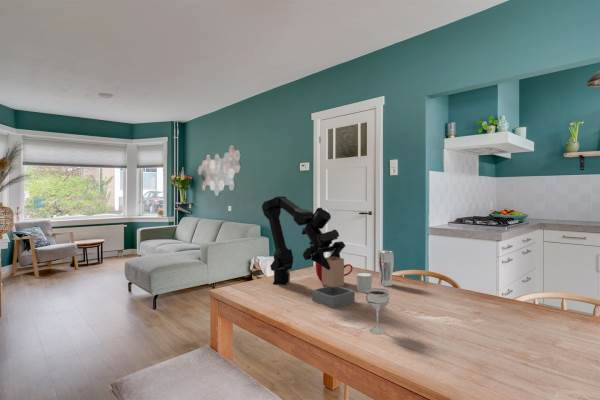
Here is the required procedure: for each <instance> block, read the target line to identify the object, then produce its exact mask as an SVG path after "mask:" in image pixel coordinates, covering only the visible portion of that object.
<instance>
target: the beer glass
mask: <svg viewBox="0 0 600 400" xmlns="http://www.w3.org/2000/svg"><path fill="white" fill-rule="evenodd" d="M394 257H395V256H394V251H392V250H386V249H385V250H384V249H382V250H378V253H377V268H378V273H379V281H378V285H379V286H381V287H387V288H388V287H392V286H393V283H394V282H393V272H394V271H393V270H394V264H395V261H394Z"/></svg>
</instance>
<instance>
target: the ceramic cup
mask: <svg viewBox="0 0 600 400" xmlns="http://www.w3.org/2000/svg"><path fill="white" fill-rule="evenodd" d="M346 267H350V270H349V271H348V272H347V273H344V277H346V276H348V275H350V274H351V273H352V271H353V269H354V268H353V265H351V264H350V263H349V264H348V263H347V264H344V269H345V268H346ZM315 272H316V276H317V278H318V280H319V281H320V282H321V283H322V266H321V265H320V264H318V263H316V262H315Z"/></svg>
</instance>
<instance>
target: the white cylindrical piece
mask: <svg viewBox="0 0 600 400" xmlns="http://www.w3.org/2000/svg"><path fill="white" fill-rule="evenodd" d="M355 278H356V287H357V288H356V289H357V292H359V293H365V294H366V293H367V290H368V289H371V288H372V283H373V274H372V273H369V272H357V273H356V275H355ZM367 294H368V293H367Z"/></svg>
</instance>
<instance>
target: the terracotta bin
mask: <svg viewBox="0 0 600 400" xmlns="http://www.w3.org/2000/svg"><path fill="white" fill-rule="evenodd" d="M325 259H326V260H327V262H328V264H329V266H330V270H328V269H326V268H325V267H323V266H322V282H321V284H322V285H324V286H330V287H337V286H339V287H341V286H344V285H345V276H344V274H345V268H344V265H345V258H342V257H340V258H338V257H334V256H332V257H329V256H328V257H327V256H326V257H325Z"/></svg>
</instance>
